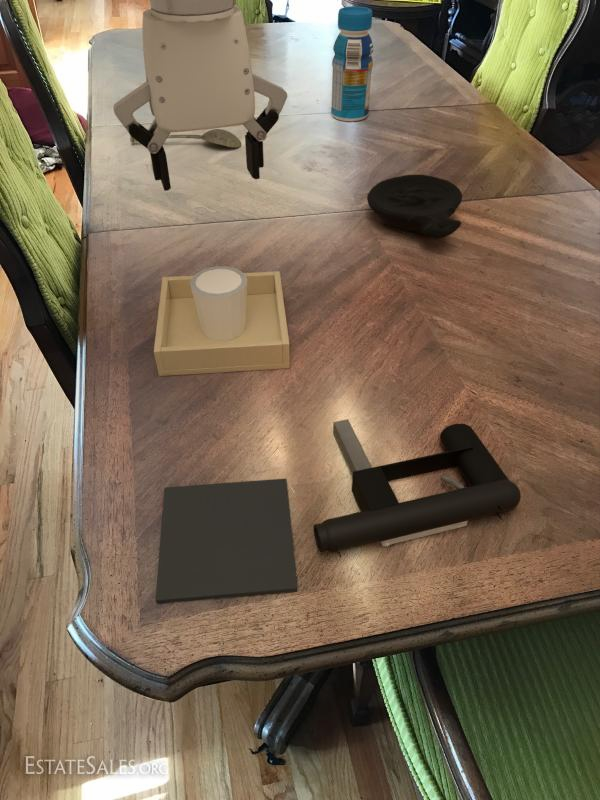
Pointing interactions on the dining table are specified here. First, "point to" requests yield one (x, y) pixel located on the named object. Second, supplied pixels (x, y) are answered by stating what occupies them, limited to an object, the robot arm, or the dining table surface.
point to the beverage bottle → (352, 64)
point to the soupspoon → (211, 138)
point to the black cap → (417, 204)
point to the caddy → (196, 354)
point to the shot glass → (220, 301)
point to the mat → (225, 541)
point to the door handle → (421, 515)
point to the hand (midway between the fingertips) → (210, 179)
